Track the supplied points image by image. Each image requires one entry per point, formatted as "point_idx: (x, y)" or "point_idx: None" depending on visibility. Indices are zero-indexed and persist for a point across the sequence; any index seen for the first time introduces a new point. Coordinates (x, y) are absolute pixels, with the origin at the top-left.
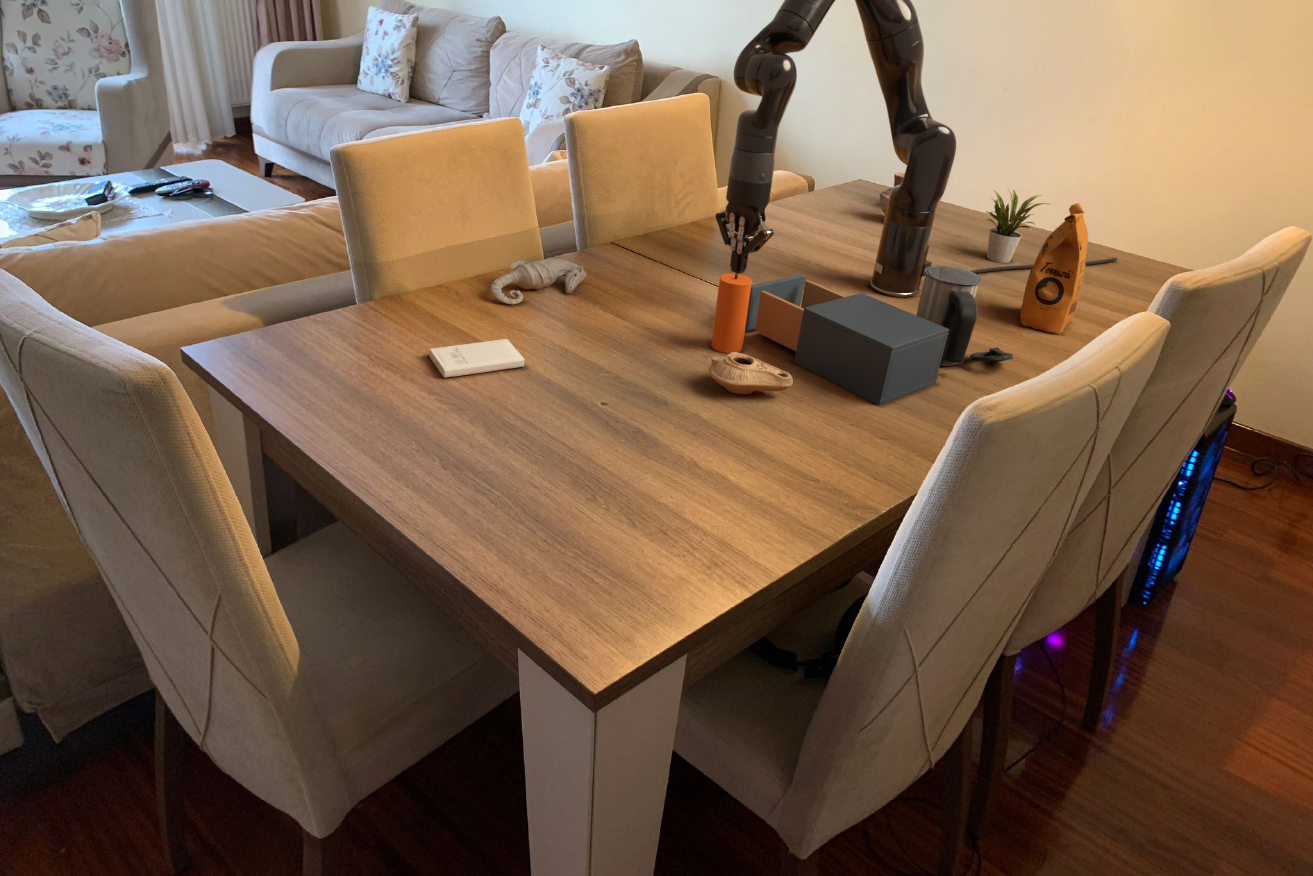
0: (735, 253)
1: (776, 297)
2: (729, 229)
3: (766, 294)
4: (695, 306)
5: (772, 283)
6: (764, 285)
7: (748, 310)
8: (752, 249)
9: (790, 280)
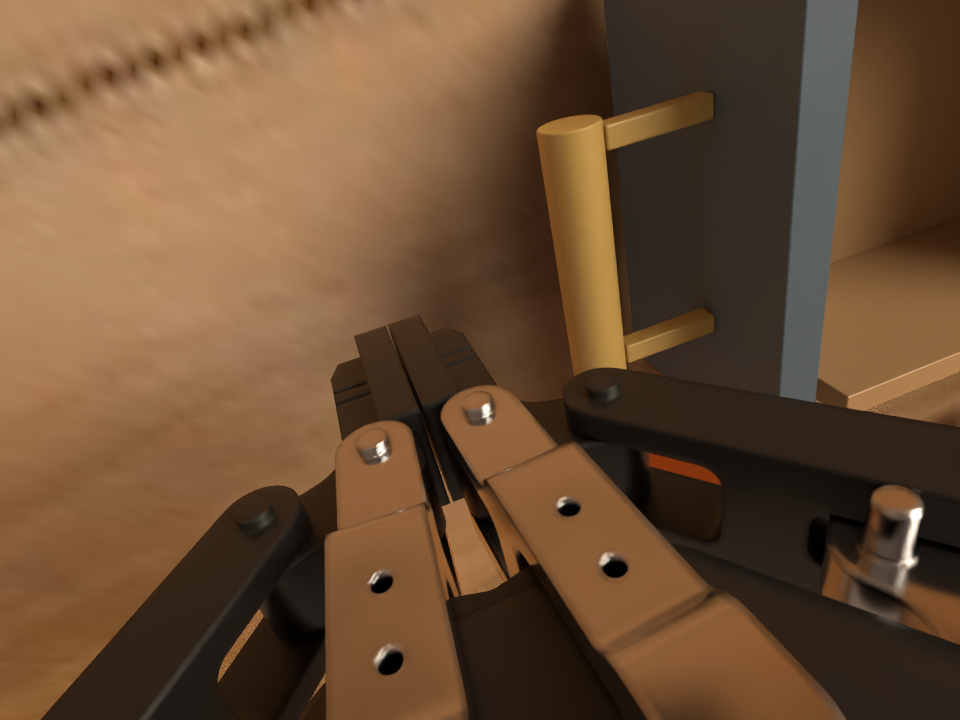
0: (445, 499)
1: (944, 372)
2: (235, 715)
3: (881, 401)
4: (285, 428)
5: (824, 309)
6: (817, 375)
7: None
8: (688, 484)
9: (841, 114)
